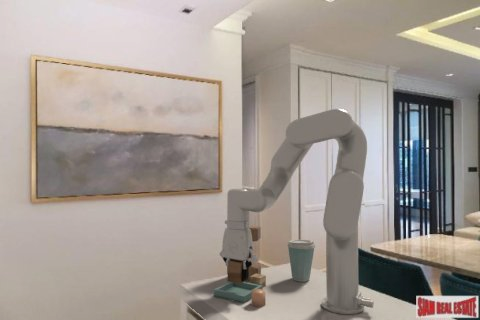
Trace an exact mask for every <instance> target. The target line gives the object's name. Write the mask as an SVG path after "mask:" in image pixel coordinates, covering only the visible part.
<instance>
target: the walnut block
mask: <svg viewBox="0 0 480 320" xmlns="http://www.w3.org/2000/svg"><path fill="white" fill-rule="evenodd" d="M242 269H243V265H242V261H239V260H233V259H231V260H228V274H227V283H228V282H233V283H237V284H241V283H243V282H247V281H249V280H248V279H247V280H245V281H242Z"/></svg>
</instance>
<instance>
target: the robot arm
mask: <svg viewBox="0 0 480 320" xmlns="http://www.w3.org/2000/svg"><path fill="white" fill-rule="evenodd" d="M329 140H336V142H337V144H338V150H337V155H336V156H337V157H336V164H335V171H334V174H333V175H332V176H331V178H330V180H329V184H328V188H327V195H326V201H325V207H324V212H323V213H324V214H323V219H322V220H323V221H322V225H323V228H324V231H325V233H326V234H325V241H326V242H325V251H326V252H325V257H326V258H325V259H326V260H325V265H326V267H325V270H326V271H325V272H326V275H325V276H326V284H325V285H326V296H324V297H323V298H322V299H321V307H323V308H324V309H325V310H327V311H328V312H332V313H335V314H341V315H355V314H356V315H357V314H360V313H362V312H363V311H364V309H365V307H366V308H370V309H373V308H374V304H375V303H374V300H372V298H369V297H364V296H363V295H362V291H359V289H360V288H359V220H360V219H359V218H360V213H361V207H362V202H363V195H364V188H365V184H364V175H365V171H366V170H365V168H366V162H367V161H366V160H367V153H368V141H367V137H366V134H365V132H364V130H363V129H362V127H361V126H360V125H359V124H358V123H357V122H356V121H355V120H354V119H353V118H352V116H351V114H350V113H349V112H348V111H346V110H344V109H341V108H332V109H329V110H324V111H322V112H319V113H315V114H311V115H306V116H303V117H300V118H297V119H294V120H293V121H291V122H290V123H289V124H288V125H287V127H286V129H285V138H284V140H283V142H282V143H281V144H280V145H279V147H278V149H277V151H276V152H275V153H274V155H273V156H272V158H271V162H270V168H269V172H268V174H267V176H266V178H265V180H264V181H263V182H262V184H261V186H260V187H259V188H257V189H250V190H248V189H245V188H231V189H229V190H228V191H227V196H226V197H227V198H226V199H227V201H226V202H227V206H226V209H227V211H226V217H227V218H226V219H227V220H225V221H224V225H226V227H225V228H224V231H223V236H222V238H223V239H222V245H221V246H222V247H221V248H222V249H221V251H220V252H219V256H220V257H221V259H223V261H224V263H225V266H226V267H227V268H226V270H227V271H226V274H227V275H228V260H231V259H233V260H239V261H242V265H243V269H242V281H245V280H247V279H248V277H249V267H250V266H251V265H252V264H253V263H255V264H256V262H257V261H258V257H257V256H256V254H255V253H254V243H253V242H252V234H251V230H250V229H249V226H250V212H251V213H262V212H264V211H266V210H268V209H270V208H272V207H273V206H274V204H275V203H276V202H277V200H278V199H279V198H280V196H281V195H282V193H283V191H284V190H285V189H286V187H287V185H288V183H289V181H290V180H291V178H292V177H293V175H294V173H295V172H296V170H297V168H299V166H300V165H301V162H302V161H303V160H304V158H305V157H306V155H307V154H308V153H309V151H310V150H311V148H312V146H313V145H314V144H317V143H321V142H326V141H329ZM249 258H250V261H249ZM247 281H248V280H247ZM245 282H246V281H245Z"/></svg>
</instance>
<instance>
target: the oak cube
mask: <svg viewBox="0 0 480 320" xmlns="http://www.w3.org/2000/svg"><path fill="white" fill-rule="evenodd" d="M266 282H267V278H266V275H265V274H262V273H261V274H254V275H252V276H251V280H250V283H252V284H257V285H262V286H263V289H264V288H265V287H266V285H267V283H266Z"/></svg>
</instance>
